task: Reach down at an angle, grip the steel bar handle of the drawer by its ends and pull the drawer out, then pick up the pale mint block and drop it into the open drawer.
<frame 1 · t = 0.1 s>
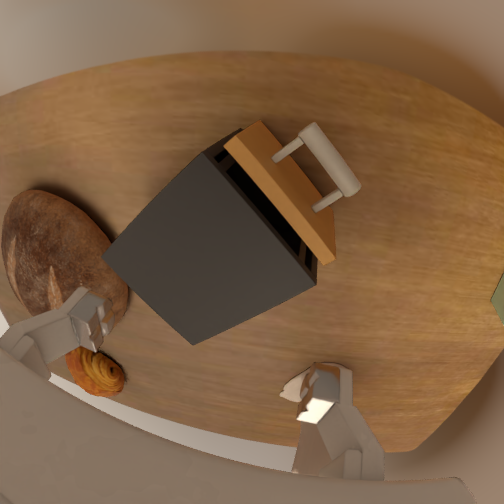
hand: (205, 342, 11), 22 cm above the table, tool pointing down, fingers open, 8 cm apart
drawer: (253, 210, 26), point 5 cm above the table, slide at 1.0 cm
croissant: (98, 362, 59), on the table
bread: (68, 260, 43), on the table
candle: (313, 383, 46), on the table
cabinet: (229, 215, 33), on the table
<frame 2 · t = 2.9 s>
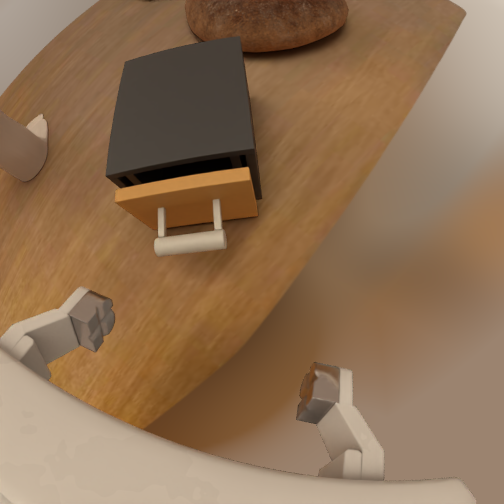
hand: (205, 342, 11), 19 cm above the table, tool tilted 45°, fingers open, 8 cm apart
drawer: (191, 164, 28), point 5 cm above the table, slide at 1.0 cm
bread: (265, 14, 40), on the table
candle: (33, 146, 38), on the table
cabinet: (202, 149, 34), on the table
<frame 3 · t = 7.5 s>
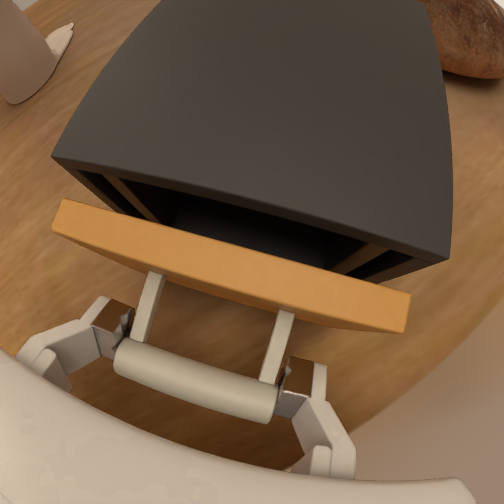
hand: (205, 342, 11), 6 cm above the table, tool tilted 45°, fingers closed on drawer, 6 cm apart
drawer: (254, 192, 13), point 5 cm above the table, slide at 1.0 cm, touching gripper
bread: (412, 14, 24), on the table
candle: (43, 60, 24), on the table
cabinet: (275, 158, 19), on the table
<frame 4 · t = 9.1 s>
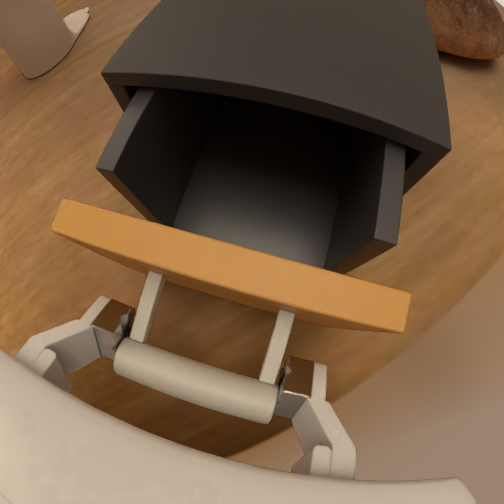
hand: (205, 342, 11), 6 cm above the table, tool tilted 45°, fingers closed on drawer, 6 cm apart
drawer: (254, 192, 13), point 5 cm above the table, slide at 4.7 cm, touching gripper
bread: (409, 3, 25), on the table
candle: (59, 40, 24), on the table
cabinet: (288, 117, 20), on the table
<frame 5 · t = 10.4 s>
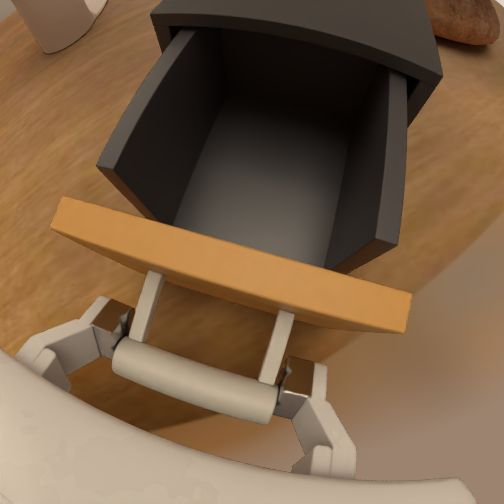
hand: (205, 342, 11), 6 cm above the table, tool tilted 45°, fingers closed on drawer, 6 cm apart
drawer: (255, 192, 13), point 5 cm above the table, slide at 8.7 cm, touching gripper
candle: (78, 20, 25), on the table
cabinet: (299, 82, 21), on the table
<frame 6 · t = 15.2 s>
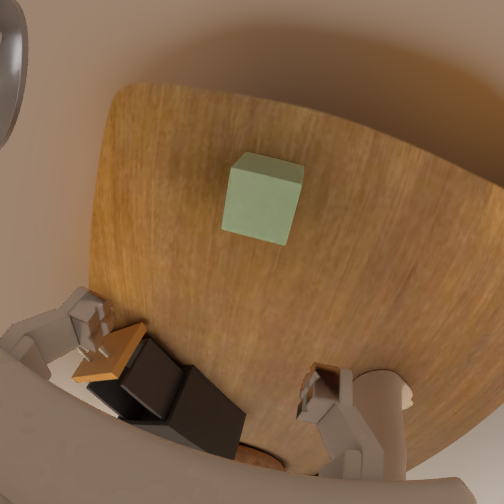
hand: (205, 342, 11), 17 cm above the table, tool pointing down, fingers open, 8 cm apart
drawer: (126, 373, 38), point 5 cm above the table, slide at 8.8 cm
bread: (231, 457, 61), on the table
block: (269, 185, 26), on the table
candle: (386, 392, 38), on the table
cabinet: (192, 395, 47), on the table
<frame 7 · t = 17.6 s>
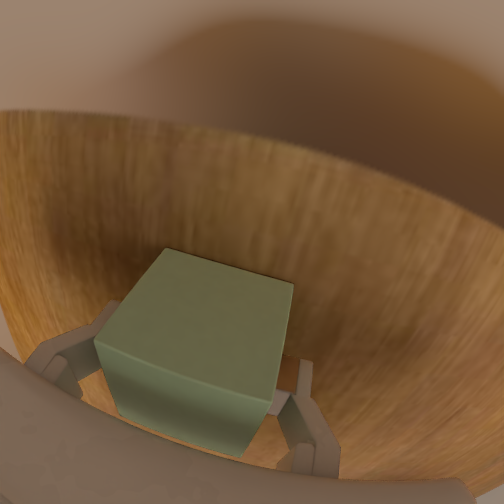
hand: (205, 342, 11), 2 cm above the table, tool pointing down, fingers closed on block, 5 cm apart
block: (219, 312, 13), on the table, touching gripper
when the fingers open (12 cm above the table, at t = 23.8 s): block drops 8 cm, resting on drawer.
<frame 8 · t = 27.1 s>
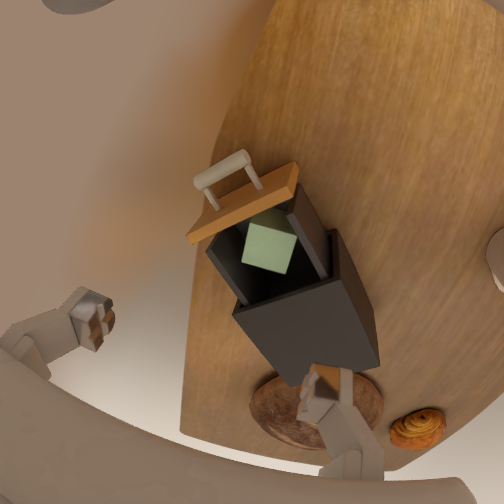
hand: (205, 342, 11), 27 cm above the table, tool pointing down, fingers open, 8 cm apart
drawer: (264, 230, 33), point 5 cm above the table, slide at 8.8 cm, touching block
croissant: (417, 421, 57), on the table
bread: (318, 399, 57), on the table
block: (274, 228, 36), point 2 cm above the table, touching drawer
cabinet: (315, 287, 42), on the table
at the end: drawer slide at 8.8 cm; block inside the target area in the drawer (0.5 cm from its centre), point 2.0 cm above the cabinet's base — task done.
